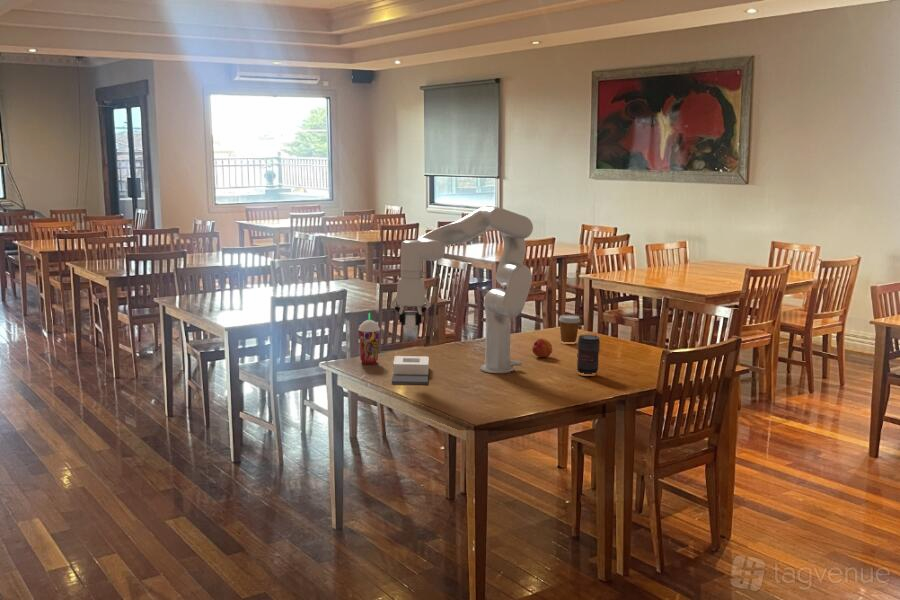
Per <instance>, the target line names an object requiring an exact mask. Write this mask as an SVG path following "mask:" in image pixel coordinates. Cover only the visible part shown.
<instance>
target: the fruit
mask: <svg viewBox="0 0 900 600" xmlns="http://www.w3.org/2000/svg"><path fill="white" fill-rule="evenodd" d="M531 350H532V353H533V355H535V356H536V357H539V358H541V357H546V358H549V357H550V355H551V354H552V353H553V346H552V343H550V341H548V340H547V339H545V338H539V339H537V340H536V341H535V342H534V343H533V346H532V349H531Z"/></svg>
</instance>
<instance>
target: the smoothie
mask: <svg viewBox="0 0 900 600" xmlns="http://www.w3.org/2000/svg"><path fill="white" fill-rule="evenodd" d="M367 315H368V316H367V317H368V319H367V320H364V321H363V322H362V323H361V324H360V326H359V328H358V338H359V355H360V361H361V363H362V364H363V365H368V364H371V365H375V364H377V361H378V360H379V348H380V347H379V346H380V334H381V333H380V332H381V331H380V330H381V328H380V327H379V324H378V323H377V322H376V321H375V320H372V319H371V312H368V314H367Z"/></svg>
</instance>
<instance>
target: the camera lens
mask: <svg viewBox="0 0 900 600" xmlns="http://www.w3.org/2000/svg"><path fill="white" fill-rule="evenodd" d="M600 343H601V342H600V336H597V335H594V334H580V335H579V336H578V340H577V355H576V357H577V362H576V363H577V364H576V367H577V368H576V369H577V370H576V371H577V372H580V373H584V374H592V373H596V374H597V373H598V371H599V370H598V369H599V354H600V347H601V346H600Z"/></svg>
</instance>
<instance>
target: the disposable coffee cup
mask: <svg viewBox="0 0 900 600" xmlns="http://www.w3.org/2000/svg"><path fill="white" fill-rule="evenodd" d="M558 321H559V331H560V341H563V342H575V341H576V342H577V338H578V331H579V324H580V322H581V318H580V316H579V315H575V314H562V315H559V317H558Z"/></svg>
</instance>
